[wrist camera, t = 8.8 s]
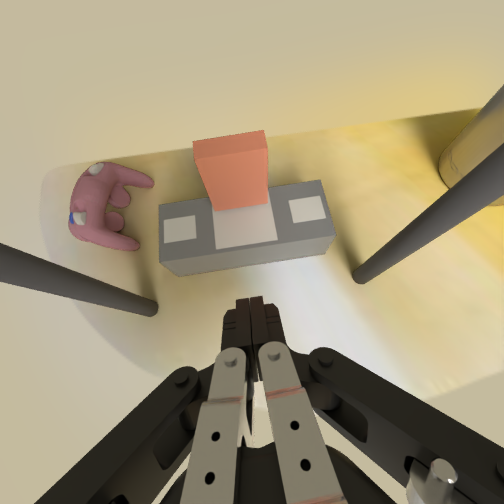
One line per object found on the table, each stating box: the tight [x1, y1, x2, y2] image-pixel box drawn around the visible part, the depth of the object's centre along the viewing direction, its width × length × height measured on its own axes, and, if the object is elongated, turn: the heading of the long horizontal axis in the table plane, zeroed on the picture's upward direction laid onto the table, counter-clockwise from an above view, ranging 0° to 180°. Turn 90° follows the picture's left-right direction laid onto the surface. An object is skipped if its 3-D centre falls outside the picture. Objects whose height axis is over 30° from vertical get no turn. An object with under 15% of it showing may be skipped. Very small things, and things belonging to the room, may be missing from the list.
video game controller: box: [68, 162, 154, 251], centre depth 28 cm, size 10×5×7 cm, turn 177°
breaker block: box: [159, 180, 336, 277], centre depth 26 cm, size 16×6×5 cm, turn 98°
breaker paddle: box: [193, 130, 268, 211], centre depth 20 cm, size 5×2×7 cm, turn 98°
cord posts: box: [0, 143, 504, 317], centre depth 17 cm, size 24×2×18 cm, turn 98°
